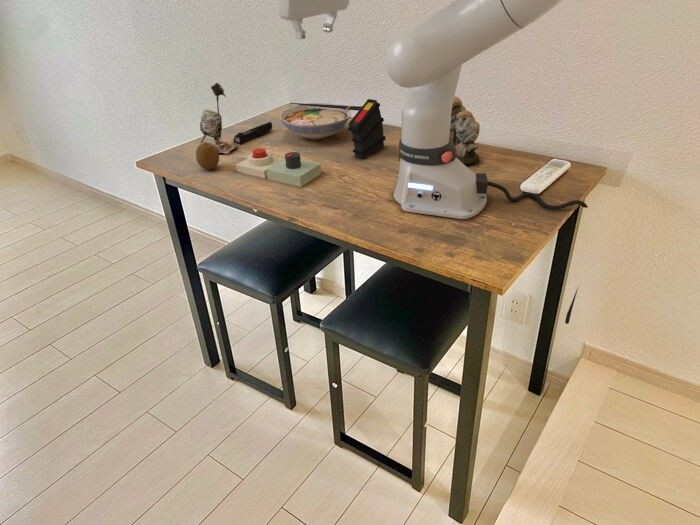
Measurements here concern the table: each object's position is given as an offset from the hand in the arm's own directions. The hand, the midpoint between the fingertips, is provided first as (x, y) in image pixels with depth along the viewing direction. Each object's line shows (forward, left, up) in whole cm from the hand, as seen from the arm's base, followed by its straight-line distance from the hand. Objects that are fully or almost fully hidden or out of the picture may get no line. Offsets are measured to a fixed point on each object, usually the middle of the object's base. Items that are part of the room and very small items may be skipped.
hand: (314, 35), depth 121 cm
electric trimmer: (+37, -15, -36) cm, 54 cm away
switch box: (+18, +4, -35) cm, 40 cm away
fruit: (+31, +11, -36) cm, 49 cm away
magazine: (-3, -19, -36) cm, 40 cm away
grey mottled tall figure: (+39, -1, -36) cm, 53 cm away
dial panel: (+7, +4, -35) cm, 36 cm away
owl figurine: (-25, -27, -36) cm, 51 cm away
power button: (+18, +4, -32) cm, 37 cm away
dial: (+7, +4, -32) cm, 33 cm away
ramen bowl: (+19, -25, -36) cm, 48 cm away
